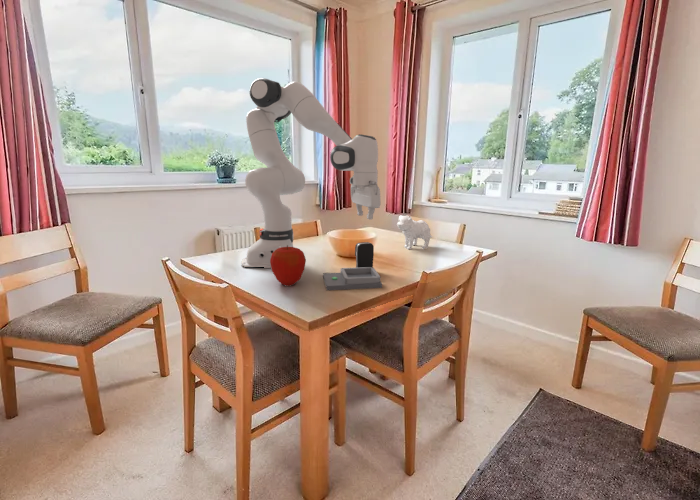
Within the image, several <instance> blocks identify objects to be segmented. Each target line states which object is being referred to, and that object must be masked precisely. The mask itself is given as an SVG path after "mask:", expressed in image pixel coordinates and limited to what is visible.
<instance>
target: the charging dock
mask: <svg viewBox="0 0 700 500" xmlns="http://www.w3.org/2000/svg"><path fill="white" fill-rule="evenodd" d="M322 278H323V281H324V285H325V289H326V291H338V290H340V291H342V290H360V289H361V290H363V289H383V283H382V281H381V278H382V277H381V276H380V274H379V273H378V271H377V270H376V269H375V267H374V266H373V267H357V268H356V267H342V268H340V272H324V273H322Z"/></svg>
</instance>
